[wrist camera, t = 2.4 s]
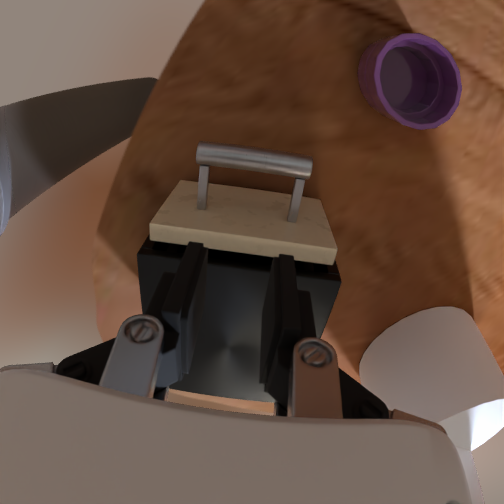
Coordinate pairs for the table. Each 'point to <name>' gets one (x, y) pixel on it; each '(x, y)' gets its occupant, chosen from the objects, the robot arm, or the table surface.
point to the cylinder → (440, 379)
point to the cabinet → (232, 318)
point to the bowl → (410, 80)
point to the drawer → (247, 211)
